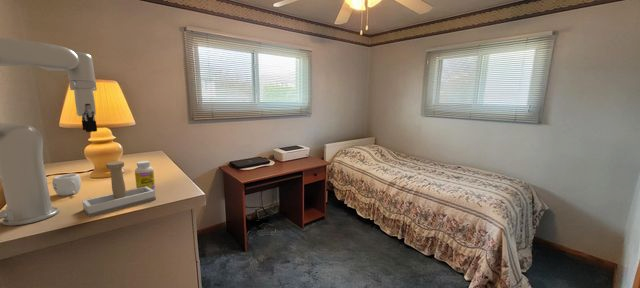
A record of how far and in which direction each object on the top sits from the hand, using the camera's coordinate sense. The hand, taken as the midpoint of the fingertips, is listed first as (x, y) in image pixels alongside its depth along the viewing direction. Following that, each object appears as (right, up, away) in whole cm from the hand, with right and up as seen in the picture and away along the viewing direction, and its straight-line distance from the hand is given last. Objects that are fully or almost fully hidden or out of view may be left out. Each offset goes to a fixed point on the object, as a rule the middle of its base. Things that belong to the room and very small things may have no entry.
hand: (90, 130), depth 100 cm
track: (+15, -28, -4) cm, 32 cm away
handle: (+15, -27, -4) cm, 31 cm away
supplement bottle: (+15, -26, +11) cm, 32 cm away
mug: (-14, -27, +7) cm, 31 cm away
